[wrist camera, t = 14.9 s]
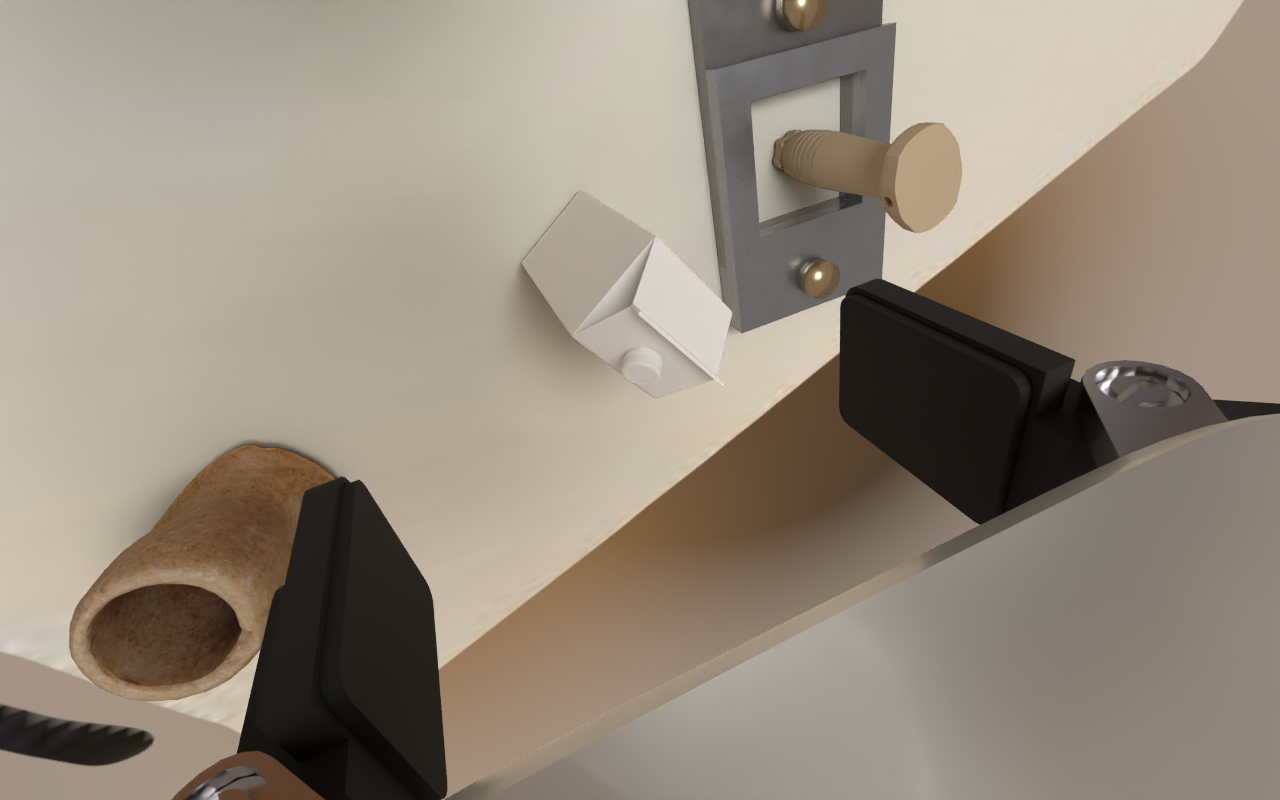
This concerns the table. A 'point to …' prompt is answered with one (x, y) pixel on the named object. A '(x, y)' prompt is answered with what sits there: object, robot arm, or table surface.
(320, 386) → the table surface
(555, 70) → the table surface
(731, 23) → the lower end link
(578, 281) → the milk carton
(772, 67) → the upper end link
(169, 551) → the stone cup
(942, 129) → the handle
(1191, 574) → the robot arm
